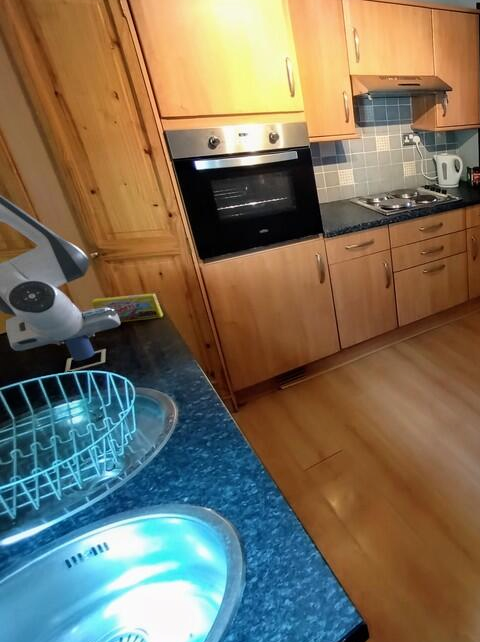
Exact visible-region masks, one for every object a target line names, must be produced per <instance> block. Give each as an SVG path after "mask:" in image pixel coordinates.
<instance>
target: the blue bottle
mask: <svg viewBox="0 0 480 642" xmlns="http://www.w3.org/2000/svg"><path fill="white" fill-rule="evenodd" d="M64 341H65V345H66V347H67V349H68V351H69V353H70V356H71V358H73V361H76V362H78V361H84V360H86V359H89V358H91V357H93V356H95V354H96V353H95V352H96V351H95V349H94V347H93V346H92V343H91V341H90V338H87V337H86V335H83V336H79V337H75V338H71V339H67V340H64Z"/></svg>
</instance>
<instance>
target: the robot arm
mask: <svg viewBox="0 0 480 642" xmlns="http://www.w3.org/2000/svg"><path fill="white" fill-rule="evenodd" d="M0 223H4V224H6V225H8V226H10V227H11V228H12V229H14V230H16V231H17V232H19V233H20V234H21V235H23V236H24V237H26V238H27V239H29V240H30V241H31V242H33V243H34V244H36V246H35V247H34V248H33V249H31V250H28V251H26V252H24V253H22V254H19V255H17V256H15V257H13V258H11V259H8V260H5V261H3V262H0V311H1V312H2V313H3V314H6V315H9V316H13V317H9V318H8V319H6V320H5V329H6V330H5V331H6V334H7V338H8V342H9V345H10V348H11V349H12V350H13V351H15V352H21V351H27V350H30V349H35V348H38V347H42V346H46V345H50V344H51V345H58V346H60V345H66V343H65V341H64V340H67V339H71V338H75V337H79V336H83V335H86V337H87V338H88V339H90V338H93V337H96V335H95V334H96V333H98V332H104V331H107V330H111V329H116V328H118V327H120V325H121V322H120V319H119V316H118V314H117V313H116V311H115V310H114V309H110V308H98V309H95V308H93V309H94V310H91V309H89V310H86V311H81V310H80V309H79V308H78V307H77V305H75V304H74V303H73V302H72V301H71V299H70V298H69V296H67V294H65V293H64V292H63V291H61V290H60V289H59V287H61V286H63V285H65V284H67V283H71V282H73V281H76V280H79V279H81V278H83V277H85V276H86V274H87V272H88V270H89V267H90V264H91V263H90V260H89V258H88V256H87V255H86V253H85V252H84V251H83V250H81V249H80V247H78V246H77V245H75V244H73V243H72V242H70V241H68V240H66V239H65V238H63V237H61V236H59V235H58V234H57V233H55V232H53V231H52V230H51V229H49V228H48V227H47V226H45V225H44V224H43V223H41V222H39V220H37V219H36V218H34V217H33V216H31V215H30V214H29V213H27V212H26V211H24V210H23V209H22V208H20V207H19V206H17V205H16V204H14V203H13V202H11V201H10V200H9V199H7V198H6V197H4V196H2V195H1V194H0Z"/></svg>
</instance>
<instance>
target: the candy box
mask: <svg viewBox="0 0 480 642" xmlns="http://www.w3.org/2000/svg"><path fill="white" fill-rule="evenodd" d="M91 304H92V307H93V309H98V308H110V309H114V310H115V311H116V313H117V314H118V316H119V319H120V323H125V322H134V321H143V320H151V319H152V320H153V319H160V318H161V319H162V317H163V316H164V313H163V310H162V308H161V305H160V303H159V299H158V297H157V295H156V293H155V292H154V293H145V294H144V293H143V294H133V295H124V296H112V297H104V298H102V297H101V298H93V300H92V301H91Z"/></svg>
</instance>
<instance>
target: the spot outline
mask: <svg viewBox="0 0 480 642" xmlns="http://www.w3.org/2000/svg"><path fill="white" fill-rule="evenodd" d="M106 351H107V349H106V348H103V349H99V350H96V351H94V352H95V354H98V353H101V355H100V361H97V362H95V363H91V364H87V365H84V366H80V367H77V368H73V369H71V365H72V364H71V363H72V360H73V358H72V357H70V358H67V360H66V363H65V370H64V373H65V372H67V371H73V372H76V371H80V370H83V369H86V368H90V367H93V366H97V365H100V364H104V363H106ZM73 361H74V360H73Z"/></svg>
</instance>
